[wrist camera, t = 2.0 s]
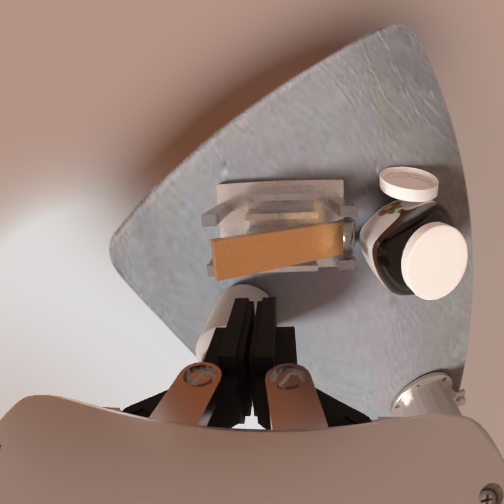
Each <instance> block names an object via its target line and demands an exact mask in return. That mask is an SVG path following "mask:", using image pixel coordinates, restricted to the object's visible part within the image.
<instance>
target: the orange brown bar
mask: <svg viewBox="0 0 504 504" xmlns="http://www.w3.org/2000/svg"><path fill="white" fill-rule="evenodd" d="M354 238H355V220H352V219H339V220H338V221H332V222H325V223H317V224H310V225H303V226H296V227H289V228H283V229H276V230H269V231H262V232H256V233H249V234H243V235H236V236H230V237H224V238H217V239H211V247H212V256H213V265H214V274H215V278H216V279H217V281H219V280H224V279H229V278H234V277H239V276H244V275H249V274H254V273H259V272H263V271H268V270H273V269H278V268H282V267H287V266H292V265H296V264H301V263H305V262H310V261H315V260H319V259H324V258H328V257H333V256H337V255H341V254H353V253H354Z"/></svg>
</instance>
